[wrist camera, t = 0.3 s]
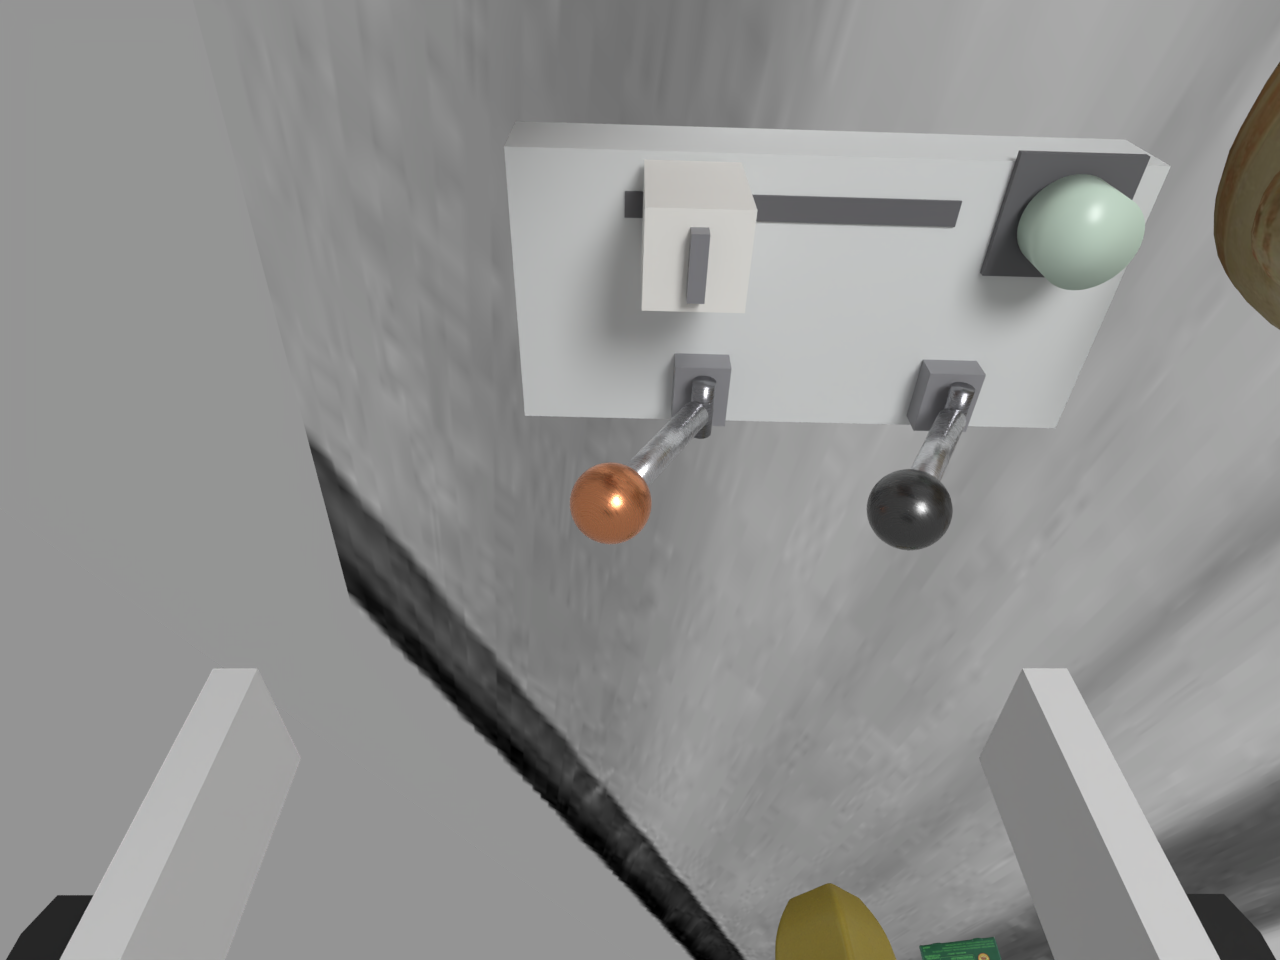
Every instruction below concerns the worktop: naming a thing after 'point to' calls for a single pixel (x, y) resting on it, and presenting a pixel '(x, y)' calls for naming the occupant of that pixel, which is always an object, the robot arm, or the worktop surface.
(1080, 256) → the button green
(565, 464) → the worktop surface
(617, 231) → the panel
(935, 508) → the toggle black
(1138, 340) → the worktop surface
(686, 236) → the fader knob
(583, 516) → the toggle orange
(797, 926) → the flower pot
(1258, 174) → the ceramic vessel
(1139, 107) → the worktop surface
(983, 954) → the coffee box
